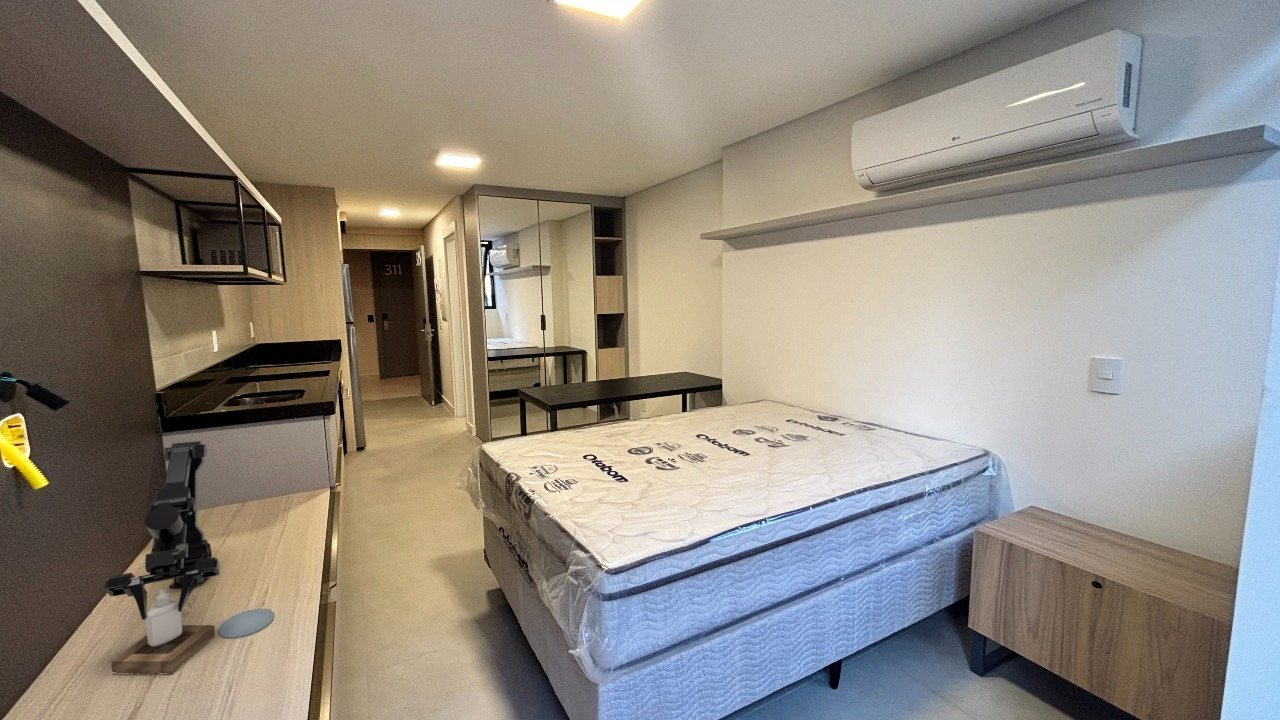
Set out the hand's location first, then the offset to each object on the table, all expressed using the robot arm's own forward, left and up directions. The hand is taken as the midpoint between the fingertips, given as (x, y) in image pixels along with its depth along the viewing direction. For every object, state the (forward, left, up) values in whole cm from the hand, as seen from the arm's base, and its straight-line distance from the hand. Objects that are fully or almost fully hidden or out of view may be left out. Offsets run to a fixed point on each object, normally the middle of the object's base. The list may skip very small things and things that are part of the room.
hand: (161, 615), depth 112 cm
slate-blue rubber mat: (+9, +12, -10) cm, 19 cm away
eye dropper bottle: (-1, +1, -7) cm, 7 cm away
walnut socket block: (-1, +1, -10) cm, 10 cm away
